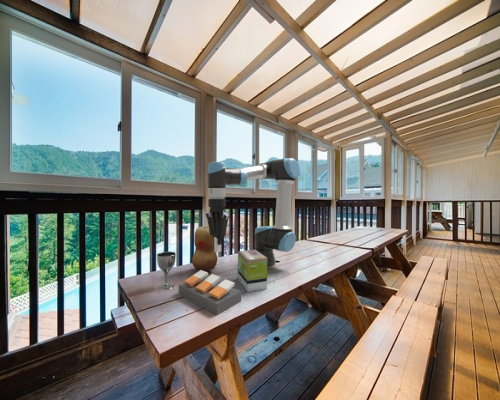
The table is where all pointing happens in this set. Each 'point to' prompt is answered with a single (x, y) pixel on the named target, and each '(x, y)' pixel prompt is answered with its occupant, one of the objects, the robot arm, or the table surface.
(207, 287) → the switch middle
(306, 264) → the table surface
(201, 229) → the butternut squash
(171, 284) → the wine glass
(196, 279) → the switch
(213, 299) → the power strip
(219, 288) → the switch
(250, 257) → the tea box
